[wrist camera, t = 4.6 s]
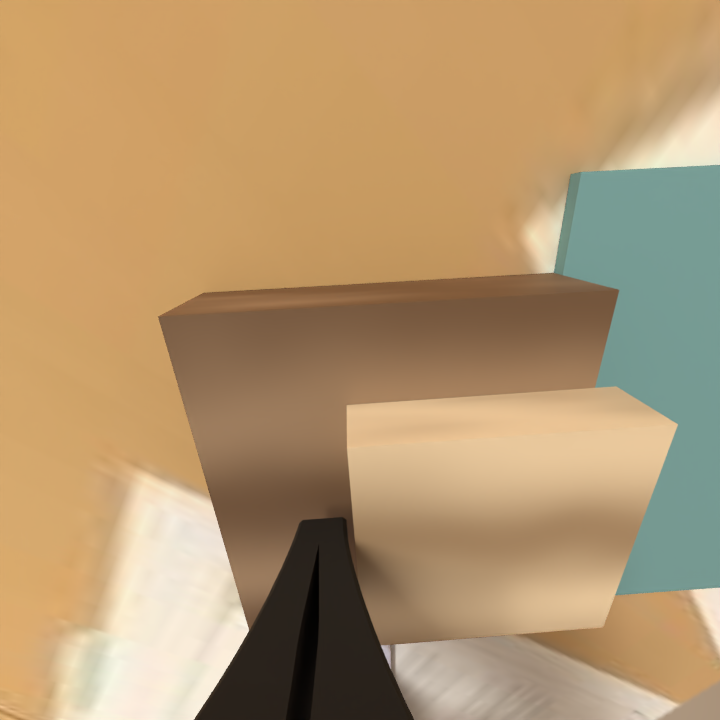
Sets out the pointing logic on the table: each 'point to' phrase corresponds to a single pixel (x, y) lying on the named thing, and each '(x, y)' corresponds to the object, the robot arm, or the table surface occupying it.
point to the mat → (660, 346)
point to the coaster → (499, 509)
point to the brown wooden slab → (353, 384)
